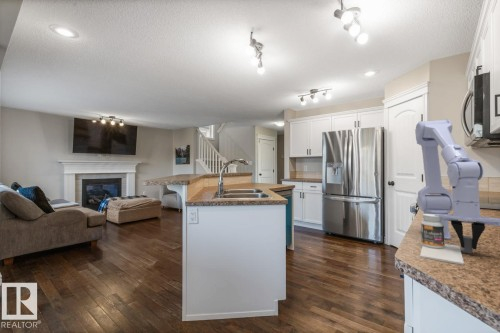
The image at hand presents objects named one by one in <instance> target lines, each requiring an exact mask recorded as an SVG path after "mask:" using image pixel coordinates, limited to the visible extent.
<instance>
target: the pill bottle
mask: <svg viewBox="0 0 500 333" xmlns="http://www.w3.org/2000/svg"><path fill="white" fill-rule="evenodd" d="M422 219H423V220H422V221H421V222H420V225H421V227H420V228H421V231H420V232H421V244H422V246H423V245H424V246H427V247H431V248H444V247H445V244H446V243H445V238H444V225H443V223H441V218H440V217H439V216H435V214H424V213H423V214H422Z"/></svg>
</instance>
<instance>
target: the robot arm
mask: <svg viewBox="0 0 500 333" xmlns="http://www.w3.org/2000/svg"><path fill="white" fill-rule="evenodd" d="M414 131H415V141H416V144H417V145H419V146H421V151H422V160H423V161H422V162H423V170H424V172H423V173H424V181H425V186H424V187H423V188H421V189H420V190H419V191H418V192H417V200H416V201H417V202H416V203H417V207H418V208H419V210H420V211H422V212H423V214H435V216H439V217H440V218H441V223H443V225H444V240H445V239H446V240H452V236H451V232H450V231H449V230H450V229H449V222H450V224H451V226H452V228H453V229H454V231H455V233H456V235H457V237H458V239H459V242H460V244H459V245H460V248H464V239H463V235H464V227H463V223H465V224H471V237H472V248H473V250H477V246H478V242H479V240H480V237H481V236H482V234H483V232H484V231H485V230H486V226H497V227H500V218H498V217H488V216H481V206H480V205H481V204H480V187H479V186H480V185H479V184H480V183H479V181H481V180H482V178H483V176H484V167H483V165H482V163H481V161H479V160H476V159H474V158H471V157H470V155H469V154H468V153H467V151H466V150H465V149H464V147H463V145H461V144H458V143H456V142H455V140H454V137H453V135H452V131H453V123H452V121H451V120H450V119H441V120H440V119H439V120H428V121H419V122H418V123H416V125H415V129H414ZM439 147H440V148H441V149H442V150H441V152H440V155H439ZM440 156H441V157H442V159H443V160H444V162H445V164H446V166H447V171H446V175H447V177H448V179H449V184H450V186H451V187H452V188H451V189H452V192H451V190H449V189H447V188H446V187H444V186H443V182H442V175H441V166H440ZM452 211H453V213H451V212H452ZM485 225H486V226H485Z"/></svg>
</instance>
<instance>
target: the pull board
mask: <svg viewBox="0 0 500 333" xmlns="http://www.w3.org/2000/svg"><path fill="white" fill-rule="evenodd" d="M463 239H464V248H462V247H461V245H455V244H449V243H445V247H444V248H431V247H427V246H424V245H423V244H422V246H421V251H420V255H419V258H423V259H429V260H433V261H440V262H444V263H448V264H449V263H451V264H456V265H461V266H464V265H465V261H464V258H463V255H462V253H465V254H470V255H472V254H473V250H474V249H473V248H472V235H464V234H463Z"/></svg>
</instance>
